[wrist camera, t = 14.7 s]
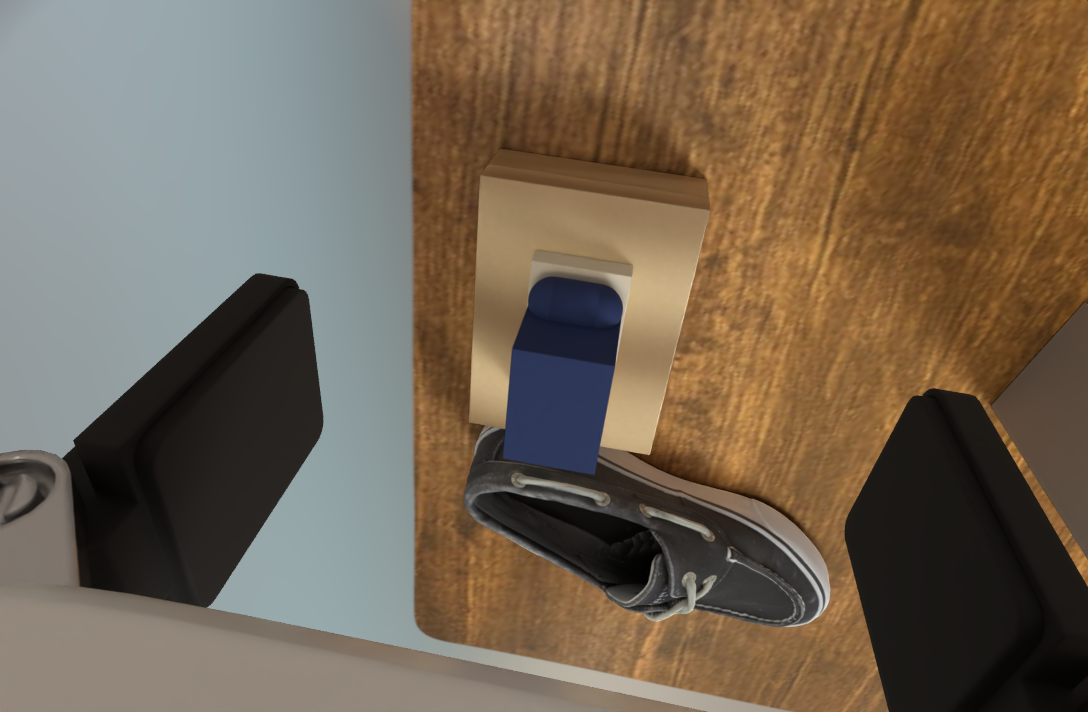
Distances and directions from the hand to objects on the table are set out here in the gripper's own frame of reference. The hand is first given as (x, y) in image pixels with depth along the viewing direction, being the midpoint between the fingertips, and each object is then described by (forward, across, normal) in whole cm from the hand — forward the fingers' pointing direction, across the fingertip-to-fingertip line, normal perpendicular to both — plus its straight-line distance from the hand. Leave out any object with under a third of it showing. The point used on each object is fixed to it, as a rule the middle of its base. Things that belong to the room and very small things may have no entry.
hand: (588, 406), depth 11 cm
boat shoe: (+23, -5, +25) cm, 35 cm away
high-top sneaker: (+19, +1, +11) cm, 22 cm away
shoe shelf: (+23, +1, +11) cm, 26 cm away
